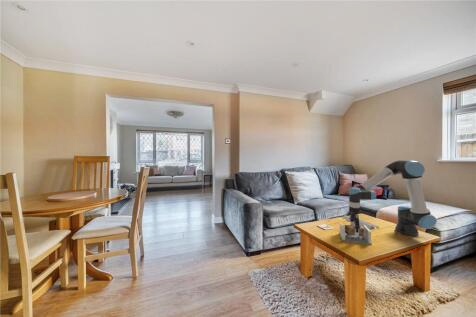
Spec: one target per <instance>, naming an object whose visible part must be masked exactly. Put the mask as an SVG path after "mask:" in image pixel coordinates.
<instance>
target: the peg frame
mask: <svg viewBox="0 0 476 317" xmlns="http://www.w3.org/2000/svg"><path fill="white" fill-rule="evenodd" d="M362 228H364V236H359V237H358V236H353V235H347V234H346V233H345V225H343V223H342V222H339V232H338V235H339V236H340V239H341V242H348V243H355V244H363V245H371V246H372V245H373V242H372V231H371V229H368V228H367V226H366V225H363V227H362Z"/></svg>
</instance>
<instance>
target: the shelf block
mask: <svg viewBox="0 0 476 317" xmlns="http://www.w3.org/2000/svg"><path fill="white" fill-rule="evenodd" d="M354 227H355V224H354V225H351V224H344V228H345V233H346V234H347V235H353V236H355V228H354ZM359 236H364V228H363V227H362V226H360V229H359Z"/></svg>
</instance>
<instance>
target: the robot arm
mask: <svg viewBox="0 0 476 317" xmlns="http://www.w3.org/2000/svg"><path fill="white" fill-rule="evenodd" d="M425 171H426V170H425V165H423V163H421V162H420V161H416V160H395V161H393V162H391V163H389V164H387V165H386V166H384V167H383V169H382V170H380V171H378V172H377V173H375V175H373V176H371V177H369V178H368V179H366V180H365V181H364V182H362V183H360V184H358V185H357V186H352V187H349V189H348V210H349V212H350V213H349V216H350V221H351V222H350V221H349V222H350V225H355V227H354V228H355V236H358V237H359V229H360V225H359V219H360V218H359V217H360V216H359V213H360V212H361V200H363V201H365V200H366V201H368V200H369V201H371V200H372V201H373V200H375V199H377V192H376V191H375V190H373V188H375V187H376V186H378V185H380V184H382V182H385V181H386V180H387V179H389V178H390V177H392V178H393V177H394V176H396V175H401V178H402V179H403V180H404V181H405V184H406V188H407V193H408V197H409V200H410V201H409V202H410V205H399V206H398V207H397V223H396V226H395V228H394V231H395V232H397V233H398V234H401V235H404V236H410V237H419V236H420V235H419V233H420V232H419V230H418V228H417V227H420V228H422V229H426V230H430V229H432V228H434V227H435V226H436V224H437V222H438V221H437V218H436V216H434V215H433V214H432V213H431V211H430V208H429V209H428V208H427V204H426V199H425V195H424V191H423V186H422V182H421V179H422V178H423V174H424V173H425Z"/></svg>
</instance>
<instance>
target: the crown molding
mask: <svg viewBox="0 0 476 317" xmlns="http://www.w3.org/2000/svg"><path fill="white" fill-rule="evenodd" d="M341 219H344V220H346V221H347V222H350V223H351V221H350V215H349V216H348V215H346V214H344V215H343V216H342V217H341ZM359 225H360V226H361V227H362V228H363V225H366V226H367V228H368V229H369V230H371V229H375V228H376V229H380V227H379V226H378V225H375V224H373V223H370V222H368V221H366V220H365V221H364V220H363V219H360V218H359Z"/></svg>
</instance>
